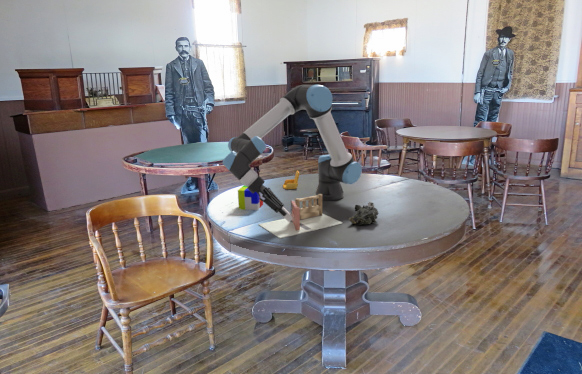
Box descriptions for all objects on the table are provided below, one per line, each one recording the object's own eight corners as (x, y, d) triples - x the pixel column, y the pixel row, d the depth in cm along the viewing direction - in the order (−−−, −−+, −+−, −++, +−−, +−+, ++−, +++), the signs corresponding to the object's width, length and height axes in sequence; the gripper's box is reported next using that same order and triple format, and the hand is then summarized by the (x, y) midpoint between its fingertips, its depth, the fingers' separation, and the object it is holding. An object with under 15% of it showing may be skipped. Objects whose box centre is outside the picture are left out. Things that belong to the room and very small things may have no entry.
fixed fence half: (320, 213, 210) (320, 193, 208) (323, 215, 209) (323, 194, 206) (294, 219, 203) (294, 198, 201) (297, 220, 202) (296, 199, 199)
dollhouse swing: (282, 185, 267) (282, 170, 265) (298, 184, 268) (297, 169, 266) (283, 189, 257) (283, 174, 255) (300, 188, 258) (299, 173, 256)
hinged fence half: (290, 219, 202) (289, 199, 200) (294, 219, 203) (294, 199, 200) (295, 230, 188) (295, 208, 186) (300, 229, 189) (299, 208, 186)
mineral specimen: (347, 205, 206) (358, 190, 201) (370, 217, 208) (382, 202, 202) (345, 225, 194) (357, 210, 188) (370, 238, 196) (382, 223, 190)
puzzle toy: (258, 210, 220) (257, 190, 218) (238, 209, 222) (237, 190, 220) (263, 204, 230) (262, 185, 227) (244, 203, 232) (243, 185, 229)
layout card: (318, 212, 214) (318, 211, 214) (342, 223, 197) (342, 222, 197) (258, 224, 199) (258, 223, 199) (279, 238, 182) (279, 237, 182)
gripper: (250, 183, 198) (287, 220, 200) (243, 191, 185) (282, 230, 187) (261, 172, 196) (299, 209, 198) (254, 179, 183) (295, 219, 185)
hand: (291, 219), depth 192 cm, fingers closed
